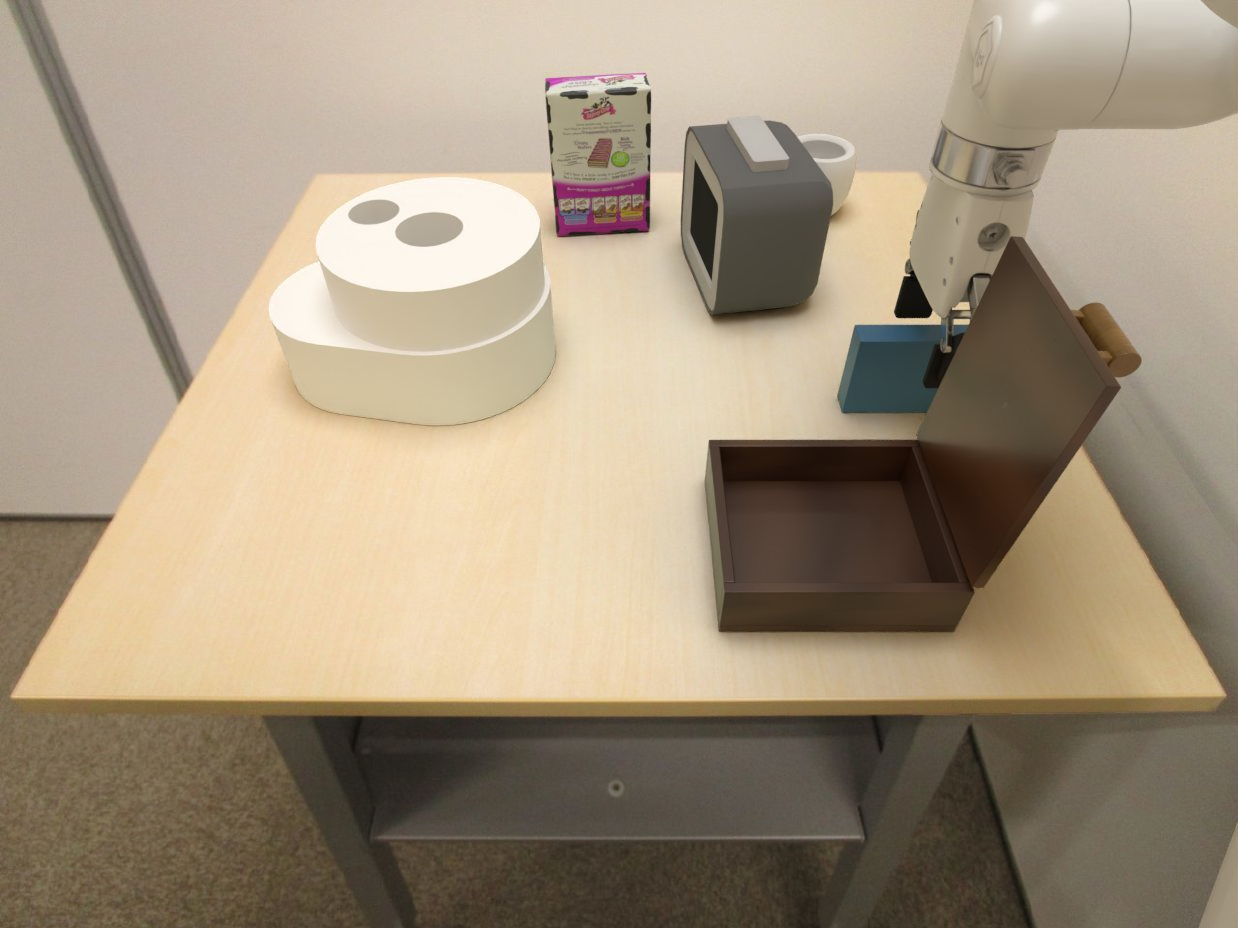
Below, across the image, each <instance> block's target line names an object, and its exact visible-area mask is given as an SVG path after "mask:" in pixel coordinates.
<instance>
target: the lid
mask: <svg viewBox="0 0 1238 928" xmlns="http://www.w3.org/2000/svg"><path fill="white" fill-rule="evenodd" d="M967 325H968V327H967V329H966V332H965V334H964V336H963V338H962V340H961V342H960V344H959V346H958V348H957V350H956V353H955V355H954V357H953V359H952V361H951V363H950V365H949V367H948V369H947V371H946V374H945V376H944V378H943V380H942V382H941V384H940V386H939V388H938V390H937V392H936V395H935V397H934V399H933V401H932V403H931V405H930V407H929V409H928V411H927V412H926V413H925V416H924V417H923V419H922V422H921V424H920V426H919V428H918V430H917V432H916V437H917V440H919V443H920V446H921V449H922V451H923V454H924V457H925V460H926V463H927V465H928V468H929V471H930V474H931V476H932V479H933V482H934V485H935V487H936V490H937V493H938V496H939V498H940V501H941V504H942V507H943V509H944V512H945V515H946V518H947V520H948V523H949V526H950V529H951V531H952V534H953V537H954V540H955V542H956V545H957V548H958V551H959V554H960V556H961V559H962V562H963V565H964V567H965V570H966V573H967V576H968V578H969V581H970V584H971V587H972V588H974V589H984V588H985V587H986V585H987V584H988V582H989V581H990V579H991V578H992V576H993V575H994V574H995V572H996V571H997V569H998V568H999V567H1000V565H1001V563H1002V562H1003V561H1004V559H1005V558H1006V556H1007V555H1008V553H1009V552H1010V550H1011V549H1012V547H1013V546H1014V545H1015V543H1016V541H1017V540H1018V539H1019V537H1020V536H1021V534H1022V533H1023V531H1024V530H1025V529H1026V527H1027V526H1028V524H1029V523H1030V521H1031V520H1032V518H1033V517H1034V515H1035V514H1036V513H1037V511H1038V510H1039V509H1040V507H1041V506H1042V504H1043V503H1044V501H1045V500H1046V498H1047V496H1048V495H1049V493H1050V492H1051V491H1052V489H1053V488H1054V486H1055V485H1056V484H1057V482H1058V481H1059V479H1060V478H1061V476H1062V475H1063V473H1064V472H1065V471H1066V469H1067V467H1069V465H1070V463H1071V462H1072V460H1074V457H1075V456H1076V454H1078V452H1079V450H1080V449H1081V447H1082V446H1083V444H1084V443H1085V441H1086V440H1087V438H1088V437H1089V435H1090V434H1091V433H1092V431H1093V430H1094V428H1095V427H1096V425H1097V424H1098V422H1099V421H1100V419H1101V418H1102V417H1103V415H1104V414H1105V412H1106V411H1107V410H1108V408H1109V407H1110V405H1111V404H1112V403H1113V400H1114V399H1115V398H1116V396H1117V395H1118V393H1119V392H1120V390H1121V389H1122V386H1121V384H1120V383H1119V381H1118V380H1117V378H1126V377H1128V376H1129V375H1131V374H1134V373H1135V372H1136V371H1137V370H1138V369H1139V368H1140V366H1141V365H1142V355H1141V354H1140V353H1139V351H1138V350H1137V348H1136V347H1135V346H1134V345H1133V343H1132V342H1131V340H1130V339H1129V337H1128V336H1127V335H1126V333H1125V331H1123V329H1122V328H1121V326H1120V324H1119V323H1118V322H1117V321H1116V319H1115V317H1114V316H1113V315H1112V314H1111V312H1110V311H1109V310H1108V308H1107V306H1106V305H1105V304H1103V303H1101V302H1090V303H1087V304H1085V305H1083V306H1081V307H1080V308H1079V309H1077V310H1076V309H1071V308H1070V306H1069V305H1068V303H1067V302H1066V301H1065V299H1064V297H1063V296H1062V294H1061V292H1060V291H1059V290H1058V288H1057V287H1056V285H1055V284H1054V283H1053V280H1052V279H1051V277H1050V276H1049V274H1048V273H1047V272H1046V270H1045V268H1044V267H1043V266H1042V264H1041V263H1040V261H1039V259H1038V258H1037V257H1036V255H1035V254H1034V252H1033V250H1032V249H1031V246H1030V245H1029V244H1028V243H1027V241H1026V239H1025V240H1024V238H1023V237H1016V236H1011V237H1010V239H1009V241H1008V243H1007V246H1006V248H1005V250H1004V252H1003V254H1002V256H1001V258H1000V260H999V262H998V264H997V266H996V269H995V271H994V273H993V275H992V277H991V279H990V281H989V283H988V285H987V287H986V290H985V292H984V294H983V296H982V298H981V300H980V302H979V304H978V306H977V308H976V311H975V313H974V315H973V317H972V319H971V321H970V320H969V323H968V324H967Z"/></svg>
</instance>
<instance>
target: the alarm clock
mask: <svg viewBox="0 0 1238 928" xmlns="http://www.w3.org/2000/svg"><path fill="white" fill-rule="evenodd" d="M798 137H799V136H797V134H796V133H795V132H794V131H793V130H792V129H791V128H790V127H789V126H788V124H787V123H784V122H781V121H776V120H771V119H770V120H764V119H763V117H762V116H760V115H750V116H737V117H736V116H735V117H729V118H727V121H726V123H718V124H707V125H705V124H704V125H692V126H688V128H687V130H686V132H685V139H684V148H683V149H684V150H683V166H682V167H683V170H682V186H681V203H680V204H681V206H680V238H681V247H682V251H683V255H684V258H685V260H686V262H687V265H688V267H689V269H690V270H689V271H691V274H692V276H693V279H694V282H695V284H696V286H697V289H698V291H699V294H700V296H701V298H702V300H703V301H702V302H703V304H704V305H705V308H706V310H707V312H708V313H709V314H710V315H711V316H712V315H713V316H714V315H722V314H733V313H742V312H751V311H753V312H754V311H759V310H760V311H762V310H771V309H780V308H790V307H793V306H796V305H799V304H802V303H803V302H805V301H807V300H808V299H809V298H810V297H811V296H812V295H813V294H814V292H815V289H816V288H817V286H818V282H819V278H820V273H821V268H822V263H823V259H824V258H823V257H824V252H825V249H826V244H827V238H828V232H829V227H830V223H831V219H832V216H831V213H832V208H833V190H832V186H831V182H830V181H829V180H828V178H827V177H826V175H825V174H824V173H823V171H822V170H821V169H820V167H819V166H818V165H817V163H816V162H815V161H814V159H813V158H812V156H811V155H810V154H809V152H808V151H807V150H806V148H805V147H804V146H803V144H802V143H801V142H800V140H799V139H798Z"/></svg>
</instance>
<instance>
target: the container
mask: <svg viewBox="0 0 1238 928" xmlns="http://www.w3.org/2000/svg"><path fill="white" fill-rule="evenodd" d="M542 244H543V243H542V231H541V220H540V216H539V213H538V211H537V209H536V208H535V206H534V205H533V204H532V203H531V202H530V200H529V199H527V197H525V196H523V195H522V194H520V193H519V192H518V191H516V190H513V188H510V187H507V186H504V185H502V184H500V183H499V184H498V183H495V182H492V181H487V180H483V179H477V178H471V177H461V176H460V177H459V176H437V177H436V176H435V177H423V178H415V179H410V180H409V179H408V180H404V181H399V182H395V183H390V184H386V185H384V186H381V187H377V188H373V189H372V190H368V191H366V192H364V193H362V194H359V195H358V196H356V197H354V198H352V199H350V200H349V201H347V202H345V203H343V204H342V205H341V206H339V207H338V208H336V209H335V210H334V211H333V212H332V213H331V214H330V215H328V216H327V218H325V220H324V221H323V222H322V224H321V225H320V228H319V229H318V231H317V234H316V237H315V251H316V255H317V258H318V260H317V261H316V262H313V263H310V264H309V265H306V266H304V267H302V268H300V269H299V270H297V271H295V272H293V274H291V275H290V276H288V277H287V278H286V279H285V280H283V281H282V282H281V283H280V284H279V285H278V286H277V287H276V289H275V290H274V292H273V293H272V294H271V297H270V299H269V302H268V316H269V319H270V322H271V324H272V327H273V330H274V332H275V335H276V337H277V341H278V343H279V346H280V348H281V351H282V353H283V356H284V359H285V361H286V363H287V367H288V369H289V371H290V374H291V377H292V379H293V382H294V385H295V387H296V390H297V391H298V393H299V394H300V396H301V397H302V398H303V399H304V400H305V401H306V402H307V403H309V404H310V405H312V406H313V407H315V408H318V409H319V410H322V411H326V412H329V413H331V414H332V413H333V414H338V415H345V416H352V417H358V418H367V419H375V420H381V421H390V422H398V423H405V424H413V425H419V426H440V427H441V426H455V425H462V424H469V423H473V422H478V421H482V420H485V419H488V418H491V417H495V416H497V415H499V414H502V413H504V412H506V411H509V410H510V409H513V408H514V407H516V406H518V405H519V404H521V403H523V402H524V401H525V400H527V399H529V398H530V397H531V396H532V395H533V394H534V393H535V392H536V391H538V390H539V389H540V388H541V386H542V385H543V384H544V383H545V382H546V380H547V379H548V377H549V376H550V374H551V372H552V370H553V368H554V364H555V362H556V354H557V350H556V338H555V324H554V313H553V301H552V299H553V298H552V287H551V286H552V285H551V276H550V272H549V270H548V267H547V266H546V264H545V262H544V254H543V245H542Z"/></svg>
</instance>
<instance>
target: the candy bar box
mask: <svg viewBox="0 0 1238 928" xmlns="http://www.w3.org/2000/svg"><path fill="white" fill-rule="evenodd" d="M647 76H648V75H647V73H646V72H638V73H637V72H634V73H611V74H610V73H609V74H596V75H595V74H593V75H578V76H577V75H576V76H561V77H560V76H559V77H546V78H545V79H544V81H545V82H544V93H545V95H544V96H545V97H544V98H545V111H546V121H547V123H546V124H547V133H548V145H549V147H548V148H549V159H550V171H551V172H550V173H551V183H552V194H553V195H552V196H553V197H552V198H553V208H554V222H555V232H556V233H555V234H556V236H557V237H572V236H587V235H588V236H589V235H605V234H617V233H619V234H620V233H633V232H648V231H650V229H651V155H652V153H651V152H652V151H651V150H652V149H651V147H652V146H651V144H652V88H651V85H650V82H649V80H648V77H647Z"/></svg>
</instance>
